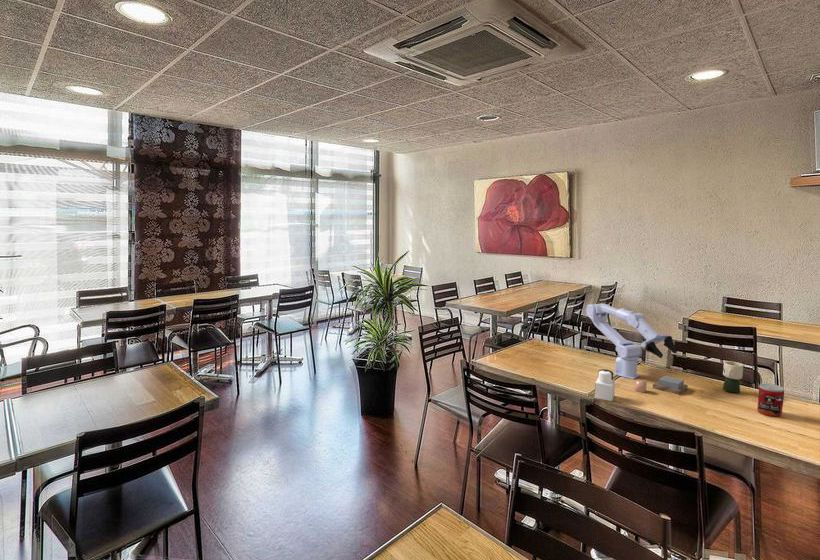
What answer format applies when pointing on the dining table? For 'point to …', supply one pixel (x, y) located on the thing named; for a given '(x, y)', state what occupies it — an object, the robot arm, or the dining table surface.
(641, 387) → the egg
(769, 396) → the canned food
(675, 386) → the top slab
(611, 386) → the medicine bottle
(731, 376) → the character mug
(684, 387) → the base slab
